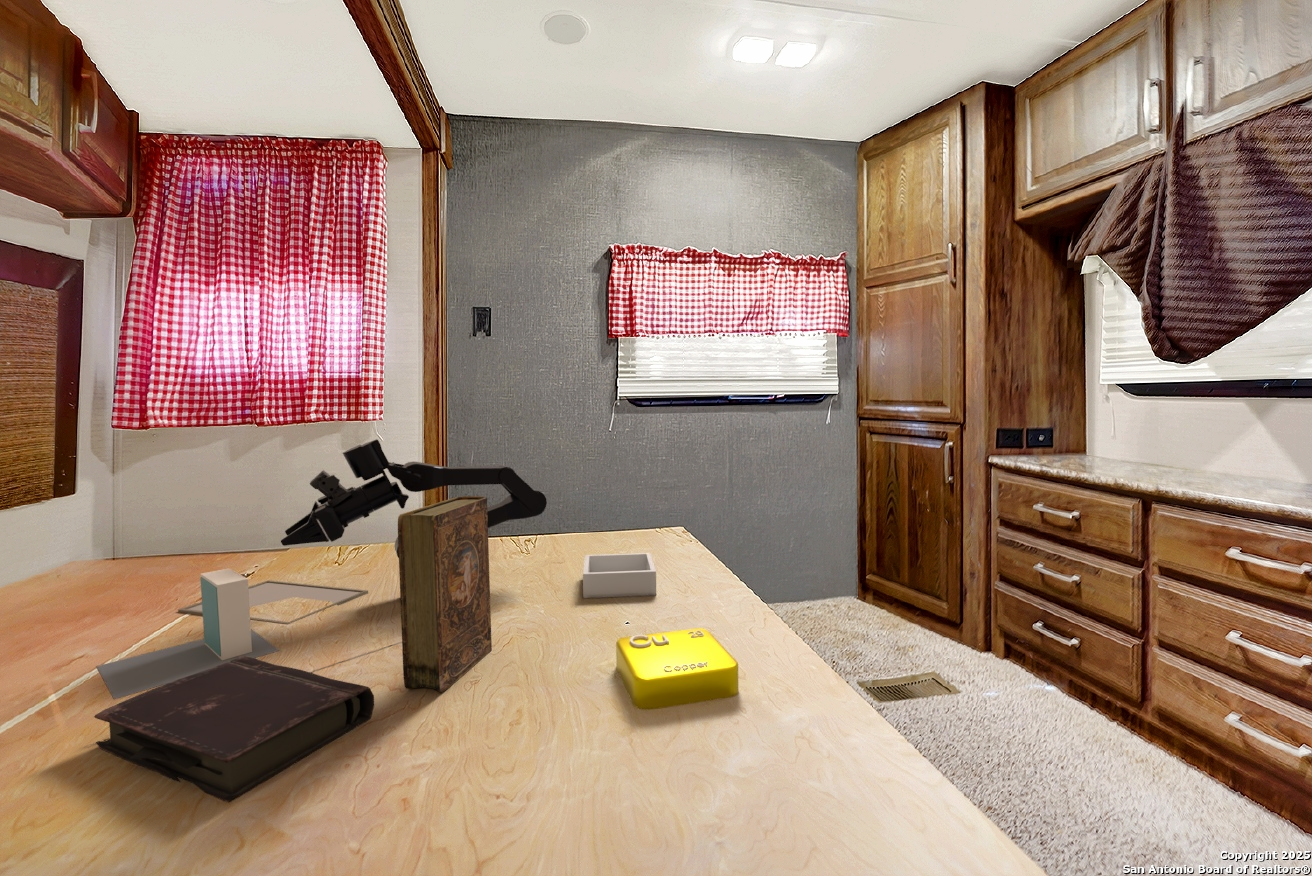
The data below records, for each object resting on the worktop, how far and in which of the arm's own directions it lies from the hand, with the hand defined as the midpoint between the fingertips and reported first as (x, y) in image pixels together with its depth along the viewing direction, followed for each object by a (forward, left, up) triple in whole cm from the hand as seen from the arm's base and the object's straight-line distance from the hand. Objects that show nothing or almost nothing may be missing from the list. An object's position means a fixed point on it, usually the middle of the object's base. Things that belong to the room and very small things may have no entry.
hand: (284, 538), depth 111 cm
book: (-37, +26, -16) cm, 48 cm away
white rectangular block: (+2, +15, -15) cm, 21 cm away
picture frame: (+7, -9, -16) cm, 20 cm away
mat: (+6, +18, -15) cm, 24 cm away
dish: (-63, -11, -15) cm, 66 cm away
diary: (-15, +41, -16) cm, 46 cm away
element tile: (-70, +33, -16) cm, 79 cm away
